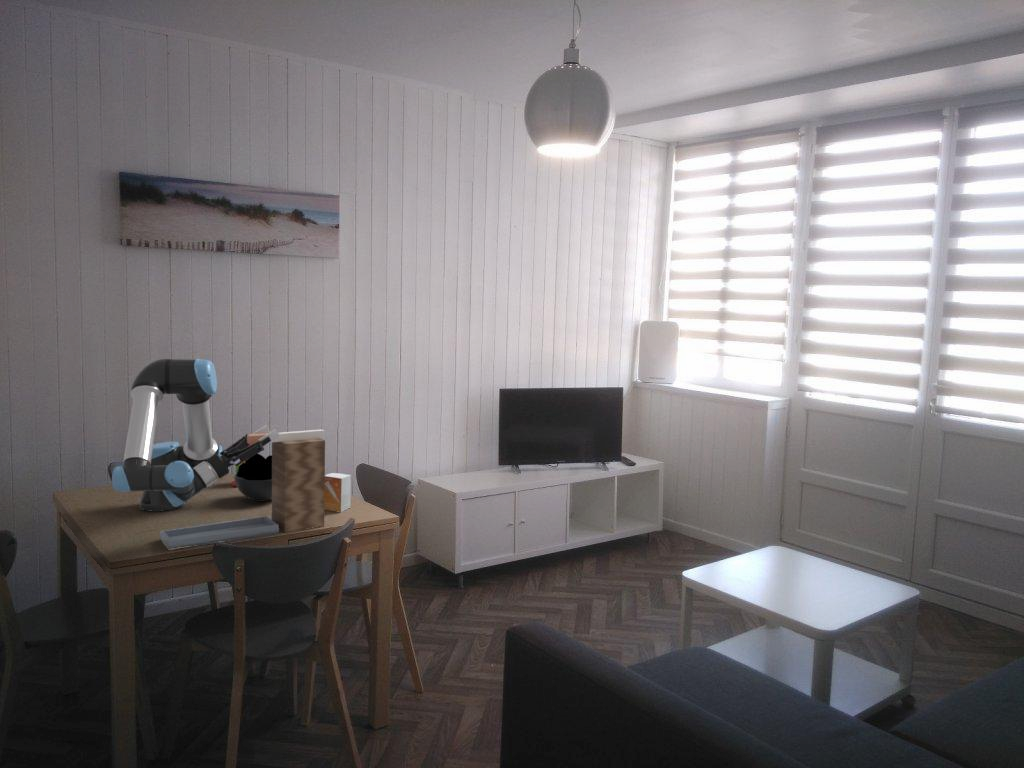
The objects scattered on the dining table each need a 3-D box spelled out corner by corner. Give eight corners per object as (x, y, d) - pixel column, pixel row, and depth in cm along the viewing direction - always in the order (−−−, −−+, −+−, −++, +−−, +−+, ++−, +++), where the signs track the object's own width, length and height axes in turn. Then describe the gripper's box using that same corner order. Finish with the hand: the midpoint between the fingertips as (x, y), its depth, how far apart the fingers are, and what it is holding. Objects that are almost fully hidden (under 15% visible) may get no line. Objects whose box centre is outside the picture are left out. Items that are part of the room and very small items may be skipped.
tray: (169, 550, 233) (169, 541, 233) (159, 540, 243) (159, 531, 242) (278, 533, 254) (278, 524, 253) (265, 524, 263) (265, 515, 263)
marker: (249, 444, 249) (249, 436, 249) (247, 442, 251) (247, 434, 251) (324, 437, 265) (325, 430, 265) (321, 436, 267) (321, 429, 267)
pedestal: (284, 532, 255) (285, 444, 252) (271, 523, 264) (272, 438, 261) (324, 526, 263) (325, 440, 260) (310, 517, 273) (311, 434, 270)
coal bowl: (230, 507, 282) (230, 457, 280) (238, 493, 301) (238, 446, 299) (286, 506, 286) (286, 457, 284) (291, 493, 305) (291, 446, 303)
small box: (322, 509, 283) (322, 475, 282) (332, 505, 289) (332, 472, 288) (341, 512, 280) (341, 478, 279) (350, 508, 286) (351, 474, 285)
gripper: (208, 472, 254) (267, 434, 265) (228, 486, 237) (290, 444, 248) (196, 454, 251) (256, 416, 262) (215, 466, 234) (278, 425, 245)
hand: (272, 430), depth 255 cm, fingers open, 8 cm apart
